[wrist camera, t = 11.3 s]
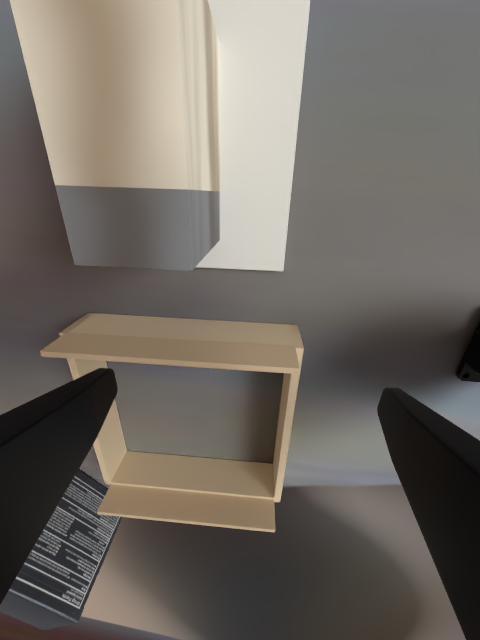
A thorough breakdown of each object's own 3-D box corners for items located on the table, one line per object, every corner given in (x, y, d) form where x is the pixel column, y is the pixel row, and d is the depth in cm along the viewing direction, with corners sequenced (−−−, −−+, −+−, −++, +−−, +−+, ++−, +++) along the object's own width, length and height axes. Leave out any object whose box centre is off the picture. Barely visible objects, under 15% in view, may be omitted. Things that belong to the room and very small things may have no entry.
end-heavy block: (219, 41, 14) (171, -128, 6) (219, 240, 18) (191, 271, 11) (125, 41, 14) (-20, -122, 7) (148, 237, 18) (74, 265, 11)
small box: (33, 475, 32) (-61, 591, 23) (62, 455, 30) (-28, 573, 21) (100, 518, 36) (41, 635, 26) (131, 503, 33) (79, 624, 24)
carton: (297, 323, 21) (310, 369, 15) (277, 468, 28) (281, 533, 23) (87, 311, 22) (30, 350, 16) (122, 454, 29) (91, 513, 24)
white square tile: (310, -10, 13) (312, -18, 13) (282, 269, 19) (283, 271, 19) (39, -7, 14) (32, -14, 13) (95, 260, 20) (91, 262, 19)
